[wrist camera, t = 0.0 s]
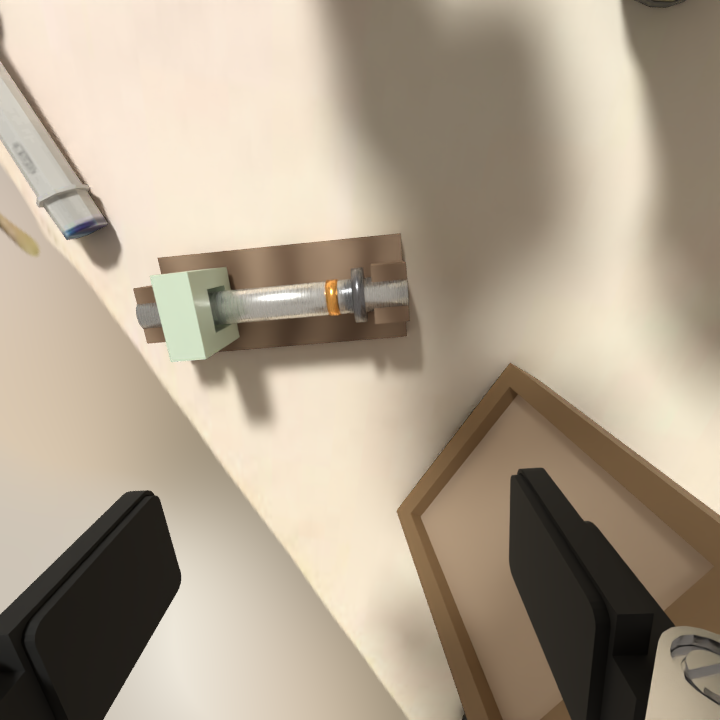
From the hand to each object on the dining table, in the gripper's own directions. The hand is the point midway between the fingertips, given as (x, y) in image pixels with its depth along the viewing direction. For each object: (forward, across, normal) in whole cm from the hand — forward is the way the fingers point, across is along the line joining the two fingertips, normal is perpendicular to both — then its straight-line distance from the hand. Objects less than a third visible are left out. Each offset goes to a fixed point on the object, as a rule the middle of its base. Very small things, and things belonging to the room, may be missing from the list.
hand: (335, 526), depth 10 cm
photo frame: (+32, -14, +19) cm, 39 cm away
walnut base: (+31, +8, -3) cm, 32 cm away
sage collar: (+29, +14, -3) cm, 33 cm away
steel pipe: (+28, +8, -3) cm, 29 cm away
